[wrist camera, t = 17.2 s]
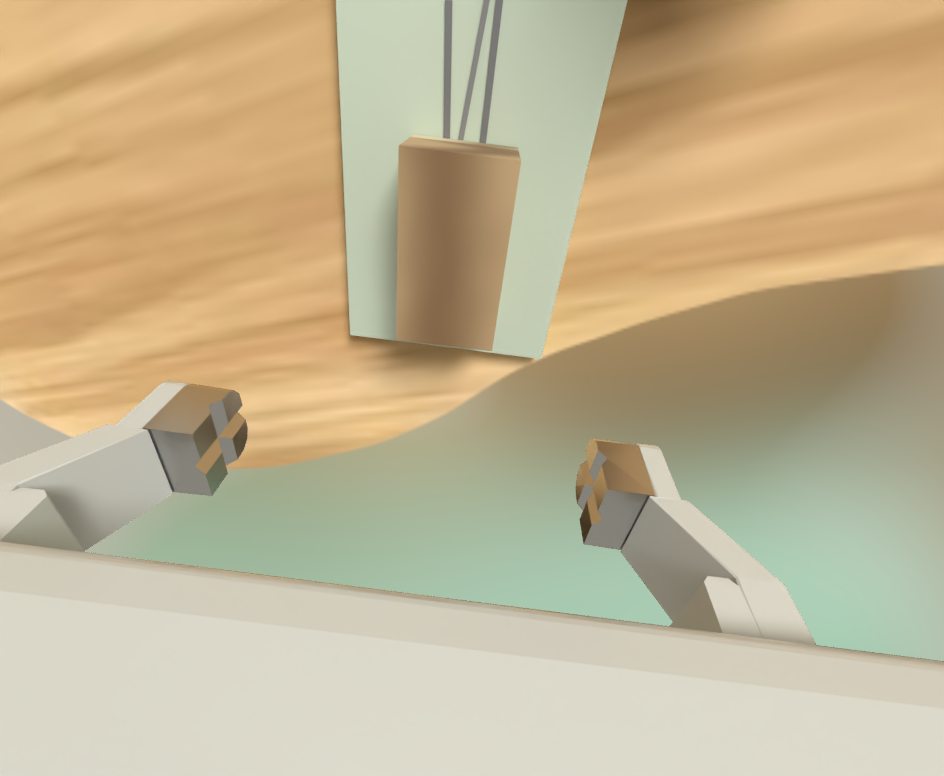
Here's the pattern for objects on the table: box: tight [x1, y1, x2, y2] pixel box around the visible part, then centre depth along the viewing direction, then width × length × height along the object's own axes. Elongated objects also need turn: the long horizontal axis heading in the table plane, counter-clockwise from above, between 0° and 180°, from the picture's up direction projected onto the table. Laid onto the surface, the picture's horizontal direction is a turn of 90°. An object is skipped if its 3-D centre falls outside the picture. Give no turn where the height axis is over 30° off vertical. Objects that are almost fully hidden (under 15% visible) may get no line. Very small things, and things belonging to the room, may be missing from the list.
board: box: [336, 0, 628, 359], centre depth 22 cm, size 12×24×1 cm, turn 173°
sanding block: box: [396, 134, 521, 351], centre depth 23 cm, size 5×9×4 cm, turn 174°
